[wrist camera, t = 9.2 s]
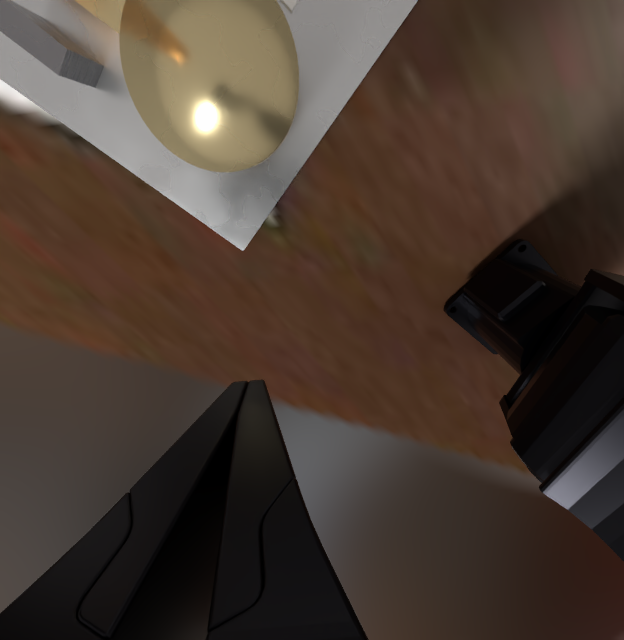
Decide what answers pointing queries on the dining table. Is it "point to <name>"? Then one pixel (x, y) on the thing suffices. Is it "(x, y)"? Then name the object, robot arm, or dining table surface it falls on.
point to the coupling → (208, 75)
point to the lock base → (133, 134)
